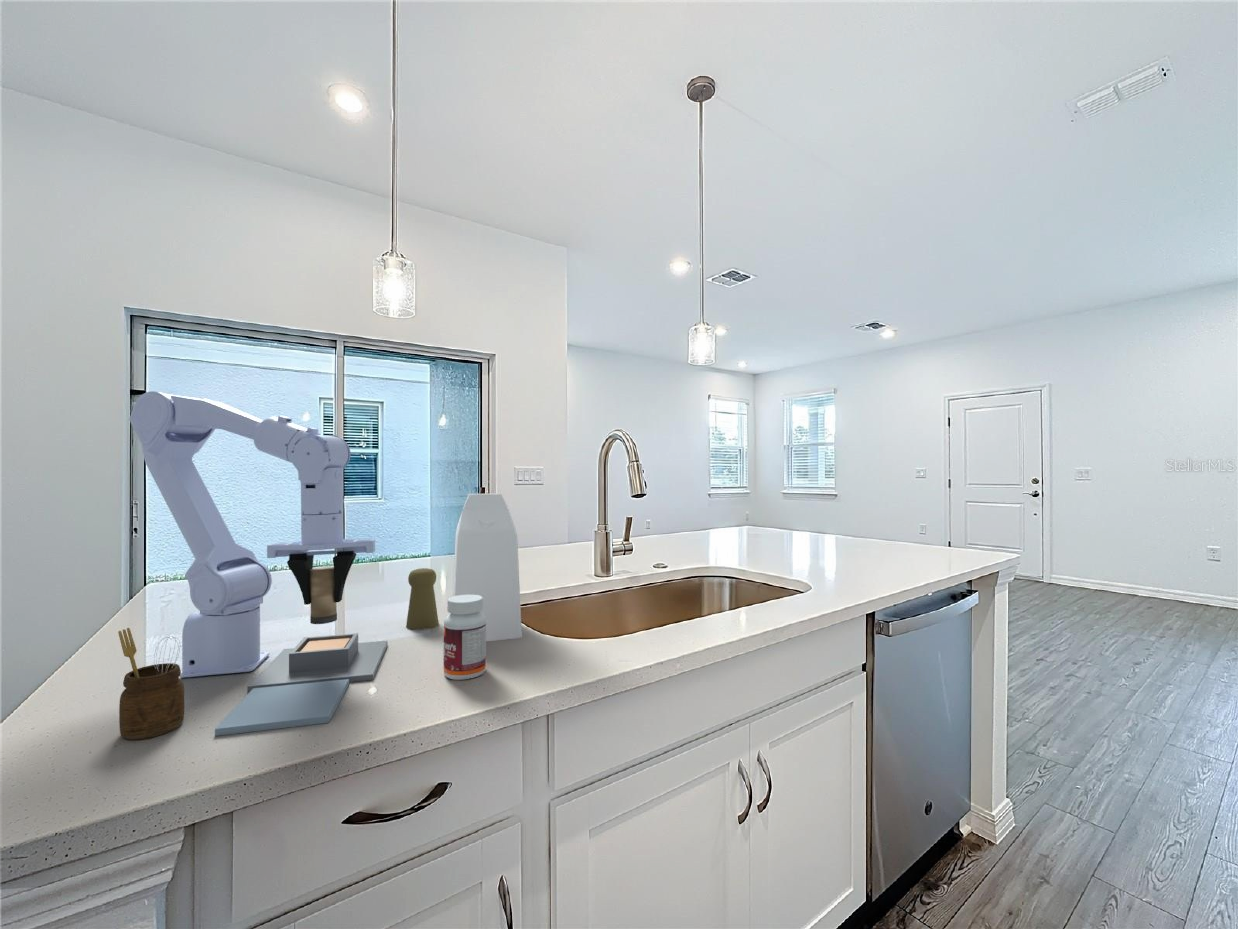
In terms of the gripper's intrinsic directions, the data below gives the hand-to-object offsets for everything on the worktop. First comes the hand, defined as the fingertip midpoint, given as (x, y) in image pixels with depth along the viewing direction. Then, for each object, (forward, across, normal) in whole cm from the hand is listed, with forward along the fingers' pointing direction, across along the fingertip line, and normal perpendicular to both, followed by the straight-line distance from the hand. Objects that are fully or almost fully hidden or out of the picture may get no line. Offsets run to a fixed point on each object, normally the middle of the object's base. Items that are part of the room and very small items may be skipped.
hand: (323, 602), depth 84 cm
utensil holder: (+11, -15, -15) cm, 24 cm away
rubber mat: (+10, -1, -13) cm, 17 cm away
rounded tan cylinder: (+3, 0, 0) cm, 3 cm away
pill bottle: (+11, +21, -7) cm, 25 cm away
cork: (+11, +13, +21) cm, 27 cm away
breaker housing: (+10, 0, +2) cm, 11 cm away
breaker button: (+9, 0, +2) cm, 9 cm away
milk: (+11, +25, +13) cm, 30 cm away
